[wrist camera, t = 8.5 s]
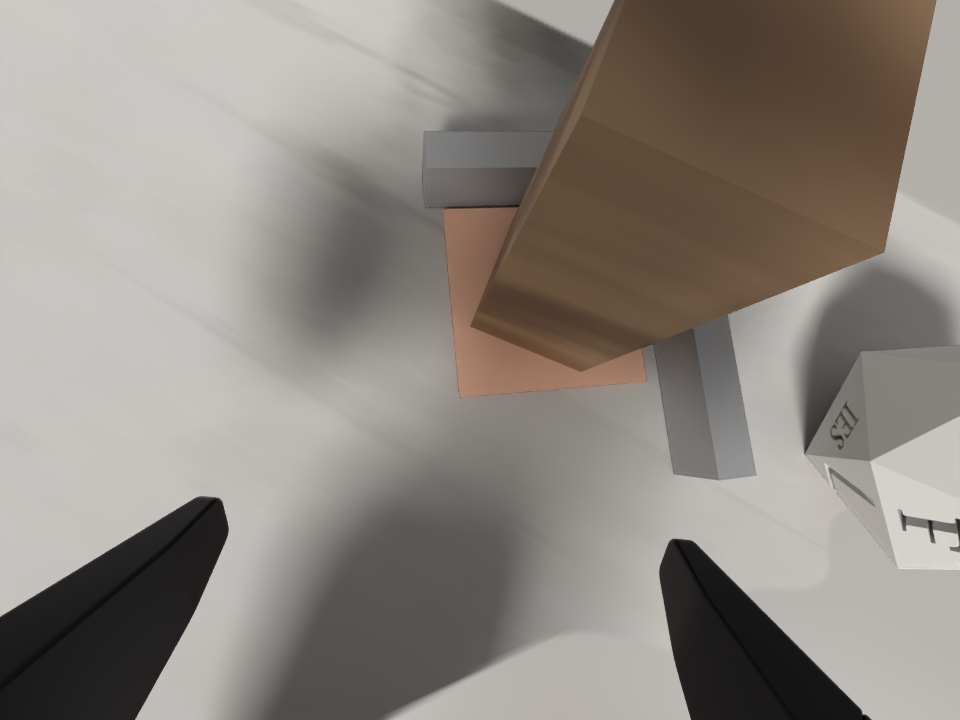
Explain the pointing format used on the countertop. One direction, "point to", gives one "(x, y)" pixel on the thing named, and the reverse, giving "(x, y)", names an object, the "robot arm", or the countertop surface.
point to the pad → (491, 359)
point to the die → (899, 452)
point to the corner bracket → (680, 358)
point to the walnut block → (708, 169)
